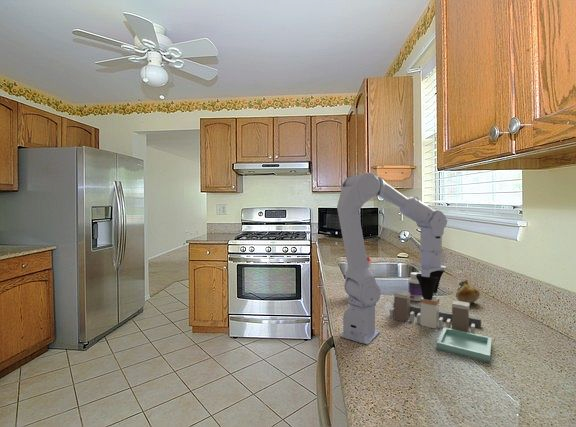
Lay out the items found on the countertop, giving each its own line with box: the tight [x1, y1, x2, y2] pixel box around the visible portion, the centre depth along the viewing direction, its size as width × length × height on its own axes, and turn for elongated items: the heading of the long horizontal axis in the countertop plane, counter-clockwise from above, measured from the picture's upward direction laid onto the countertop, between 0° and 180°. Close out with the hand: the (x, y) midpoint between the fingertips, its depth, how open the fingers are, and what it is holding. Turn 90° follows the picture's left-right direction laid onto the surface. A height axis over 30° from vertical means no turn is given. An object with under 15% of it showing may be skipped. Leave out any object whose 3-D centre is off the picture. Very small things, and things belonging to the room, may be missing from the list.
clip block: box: [389, 302, 482, 334], centre depth 92 cm, size 9×25×2 cm, turn 54°
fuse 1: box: [393, 290, 411, 323], centre depth 94 cm, size 4×4×8 cm
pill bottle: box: [407, 271, 423, 302], centre depth 112 cm, size 5×5×10 cm
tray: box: [435, 326, 493, 364], centre depth 76 cm, size 11×11×2 cm
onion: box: [455, 279, 481, 305], centre depth 108 cm, size 8×8×8 cm
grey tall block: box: [420, 296, 440, 329], centre depth 89 cm, size 4×4×8 cm
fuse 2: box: [451, 300, 471, 333], centre depth 85 cm, size 4×4×8 cm
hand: (430, 295), depth 89 cm, fingers open, 7 cm apart
